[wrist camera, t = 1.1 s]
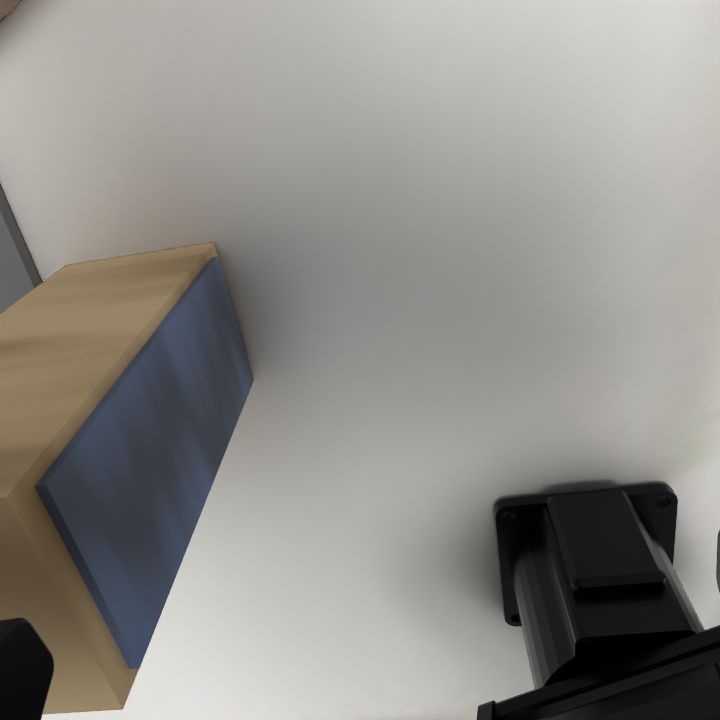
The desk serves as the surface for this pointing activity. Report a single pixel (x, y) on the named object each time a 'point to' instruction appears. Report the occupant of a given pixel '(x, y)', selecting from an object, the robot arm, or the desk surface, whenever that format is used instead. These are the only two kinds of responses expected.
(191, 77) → the desk surface
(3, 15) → the brick
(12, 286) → the mat
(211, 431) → the oak block
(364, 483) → the desk surface
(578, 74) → the desk surface
